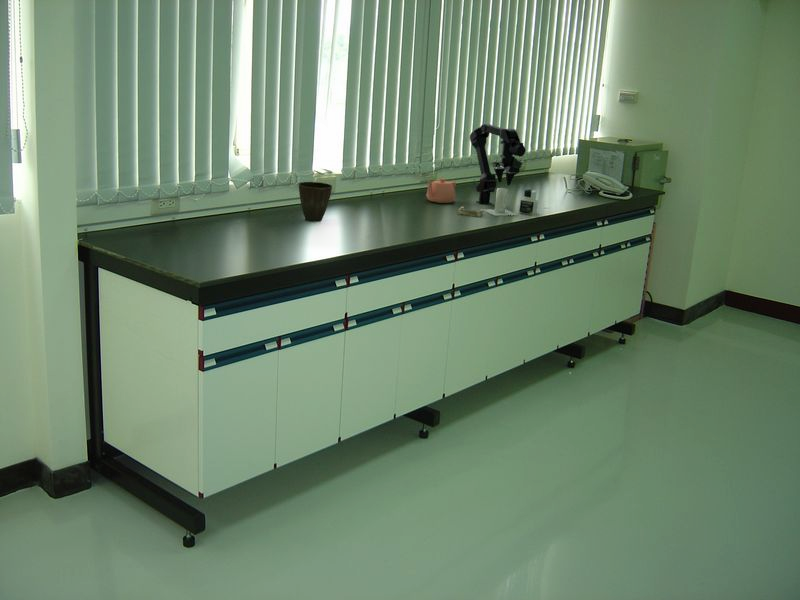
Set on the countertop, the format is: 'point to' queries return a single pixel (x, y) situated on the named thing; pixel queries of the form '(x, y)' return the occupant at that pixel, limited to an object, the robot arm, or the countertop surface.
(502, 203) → the pale grey rounded piece
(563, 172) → the countertop surface
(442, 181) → the teapot
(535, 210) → the medicine bottle
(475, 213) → the holder
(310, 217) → the plant pot
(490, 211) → the mat
